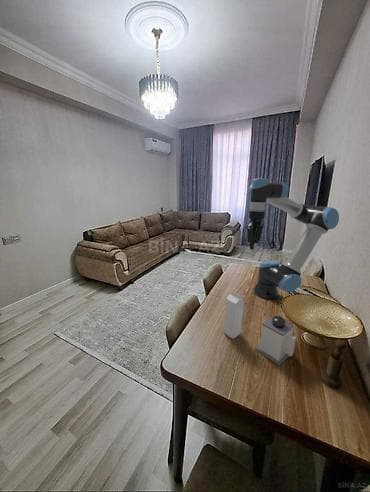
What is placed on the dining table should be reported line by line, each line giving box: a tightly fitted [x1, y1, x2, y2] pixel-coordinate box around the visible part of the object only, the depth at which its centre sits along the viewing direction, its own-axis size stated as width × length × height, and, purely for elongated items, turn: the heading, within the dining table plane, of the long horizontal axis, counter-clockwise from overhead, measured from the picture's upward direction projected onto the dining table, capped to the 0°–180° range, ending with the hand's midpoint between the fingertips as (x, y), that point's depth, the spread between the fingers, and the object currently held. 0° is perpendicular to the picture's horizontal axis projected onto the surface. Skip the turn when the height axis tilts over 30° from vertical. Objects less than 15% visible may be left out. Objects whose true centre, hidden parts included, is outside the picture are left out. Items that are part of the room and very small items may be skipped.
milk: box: [222, 290, 245, 340], centre depth 100 cm, size 6×6×22 cm
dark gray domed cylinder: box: [271, 315, 286, 328], centre depth 89 cm, size 6×6×14 cm
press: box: [255, 315, 297, 367], centre depth 89 cm, size 11×13×14 cm
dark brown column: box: [320, 338, 346, 390], centre depth 76 cm, size 7×6×18 cm
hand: (252, 254), depth 112 cm, fingers closed
